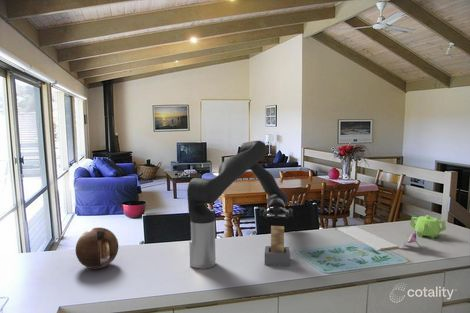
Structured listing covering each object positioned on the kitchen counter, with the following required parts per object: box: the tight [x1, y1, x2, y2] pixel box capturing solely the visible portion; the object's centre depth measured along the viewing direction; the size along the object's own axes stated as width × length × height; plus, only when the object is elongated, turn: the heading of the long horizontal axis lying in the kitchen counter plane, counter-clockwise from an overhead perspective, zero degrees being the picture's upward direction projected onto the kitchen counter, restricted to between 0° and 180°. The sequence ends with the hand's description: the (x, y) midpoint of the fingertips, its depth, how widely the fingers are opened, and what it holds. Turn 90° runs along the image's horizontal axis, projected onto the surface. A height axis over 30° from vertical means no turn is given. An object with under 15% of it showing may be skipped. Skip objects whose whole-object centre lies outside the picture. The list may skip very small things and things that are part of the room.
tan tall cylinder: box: [270, 225, 285, 253], centre depth 139 cm, size 5×4×13 cm
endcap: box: [264, 245, 291, 267], centre depth 139 cm, size 10×8×5 cm
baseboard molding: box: [336, 223, 400, 251], centre depth 166 cm, size 31×3×12 cm
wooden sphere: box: [75, 227, 119, 270], centre depth 134 cm, size 15×15×15 cm
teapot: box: [409, 214, 447, 240], centre depth 169 cm, size 12×12×10 cm
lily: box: [399, 229, 423, 251], centre depth 152 cm, size 12×12×10 cm
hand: (276, 216), depth 149 cm, fingers open, 8 cm apart
